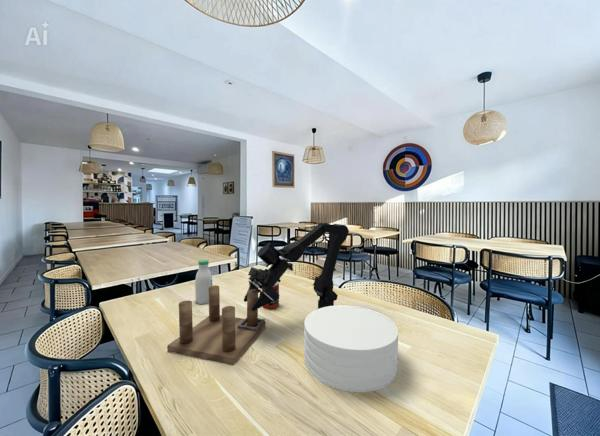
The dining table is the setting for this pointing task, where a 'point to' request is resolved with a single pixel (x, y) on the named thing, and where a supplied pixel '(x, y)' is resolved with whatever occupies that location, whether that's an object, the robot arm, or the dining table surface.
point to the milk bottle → (203, 282)
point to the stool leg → (251, 315)
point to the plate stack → (351, 348)
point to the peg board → (214, 332)
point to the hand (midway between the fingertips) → (248, 305)
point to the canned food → (273, 304)
